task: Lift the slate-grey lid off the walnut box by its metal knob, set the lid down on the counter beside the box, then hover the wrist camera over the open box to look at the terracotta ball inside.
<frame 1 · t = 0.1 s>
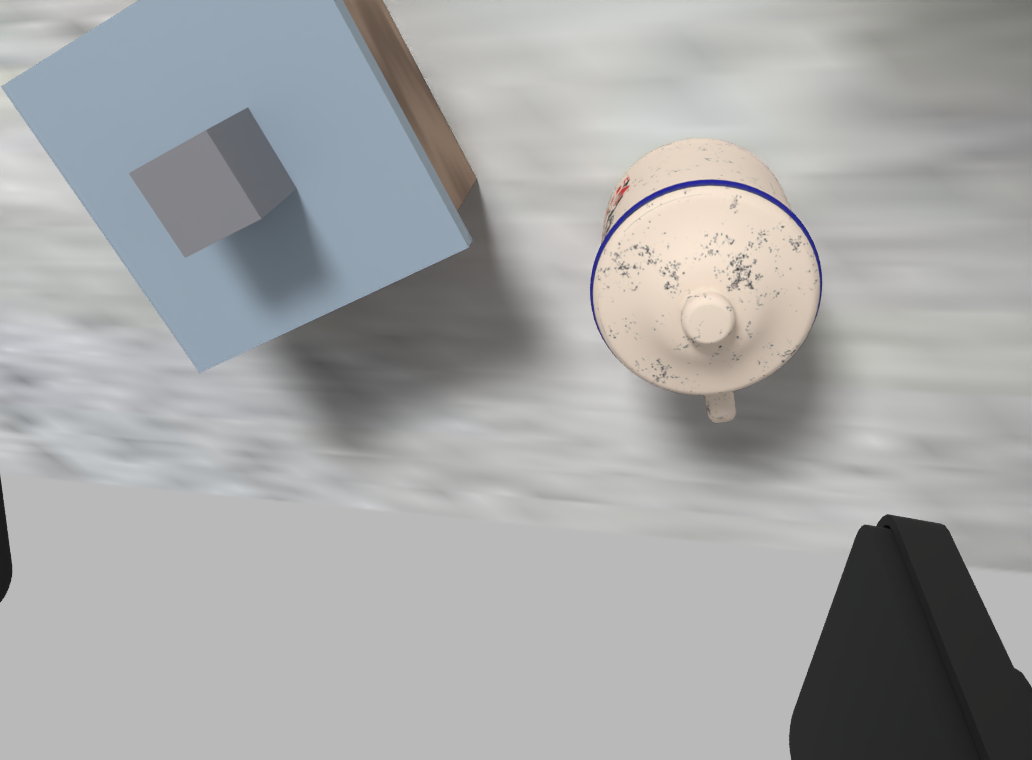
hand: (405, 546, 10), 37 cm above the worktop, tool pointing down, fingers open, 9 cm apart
teacup with lid: (698, 254, 47), on the worktop
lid: (246, 161, 39), point 8 cm above the worktop, touching box
box: (307, 120, 46), on the worktop
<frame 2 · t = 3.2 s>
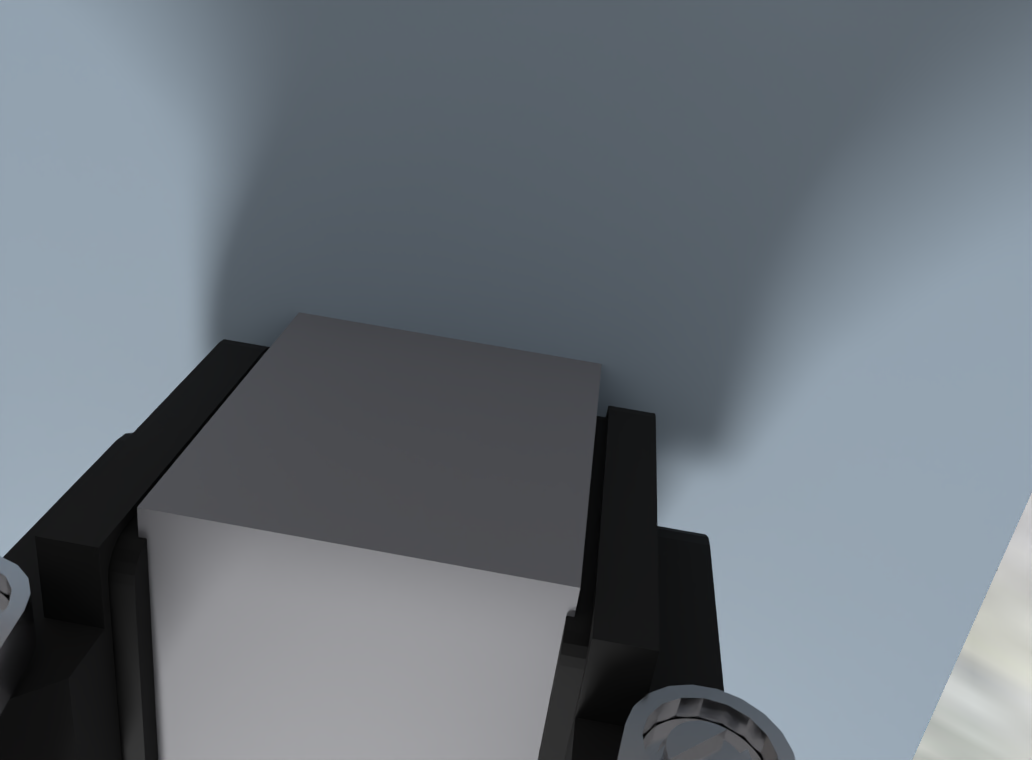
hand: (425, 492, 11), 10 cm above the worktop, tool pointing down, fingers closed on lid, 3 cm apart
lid: (449, 427, 13), point 8 cm above the worktop, touching box, gripper
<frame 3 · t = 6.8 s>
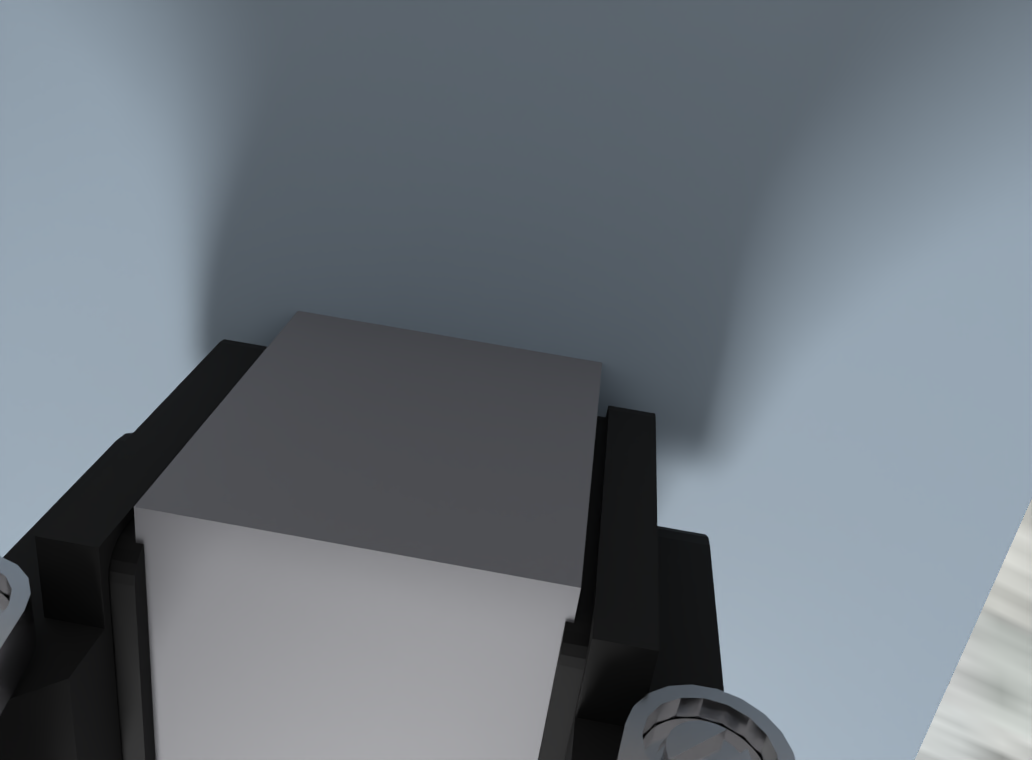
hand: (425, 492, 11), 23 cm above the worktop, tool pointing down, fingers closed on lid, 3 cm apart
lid: (449, 426, 13), point 21 cm above the worktop, touching gripper
when the fingers open (3 cm above the worktop, at t = 10.7 s): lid drops 2 cm, on the worktop.
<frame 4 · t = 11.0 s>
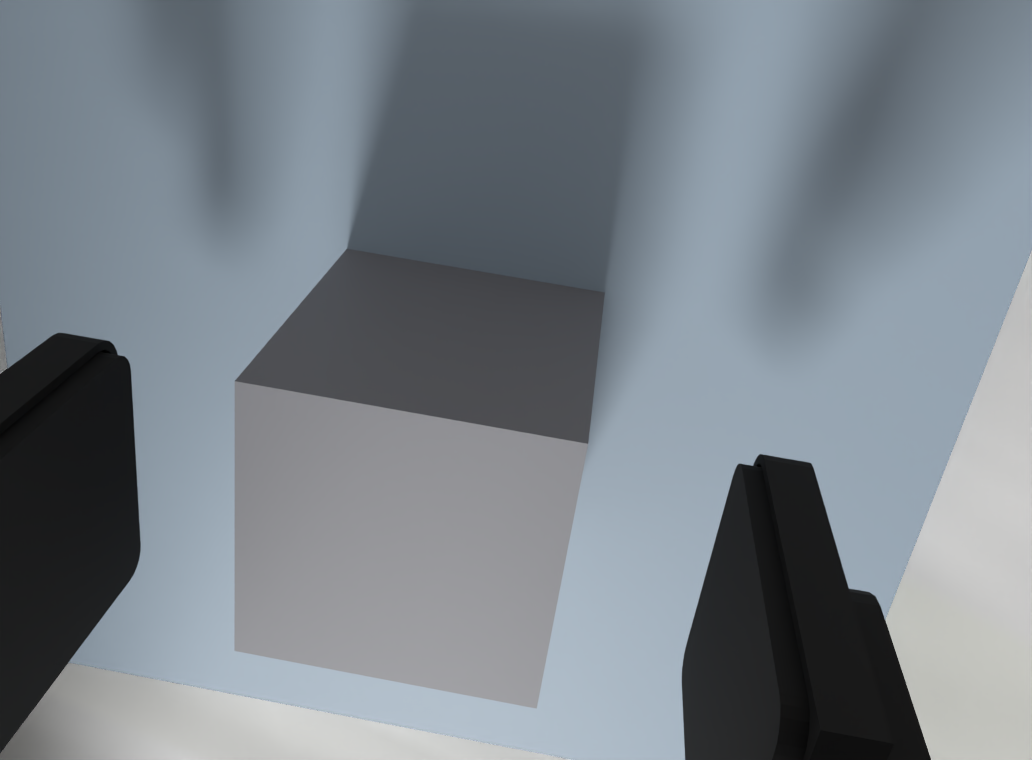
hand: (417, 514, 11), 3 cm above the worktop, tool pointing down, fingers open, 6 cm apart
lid: (472, 355, 15), on the worktop
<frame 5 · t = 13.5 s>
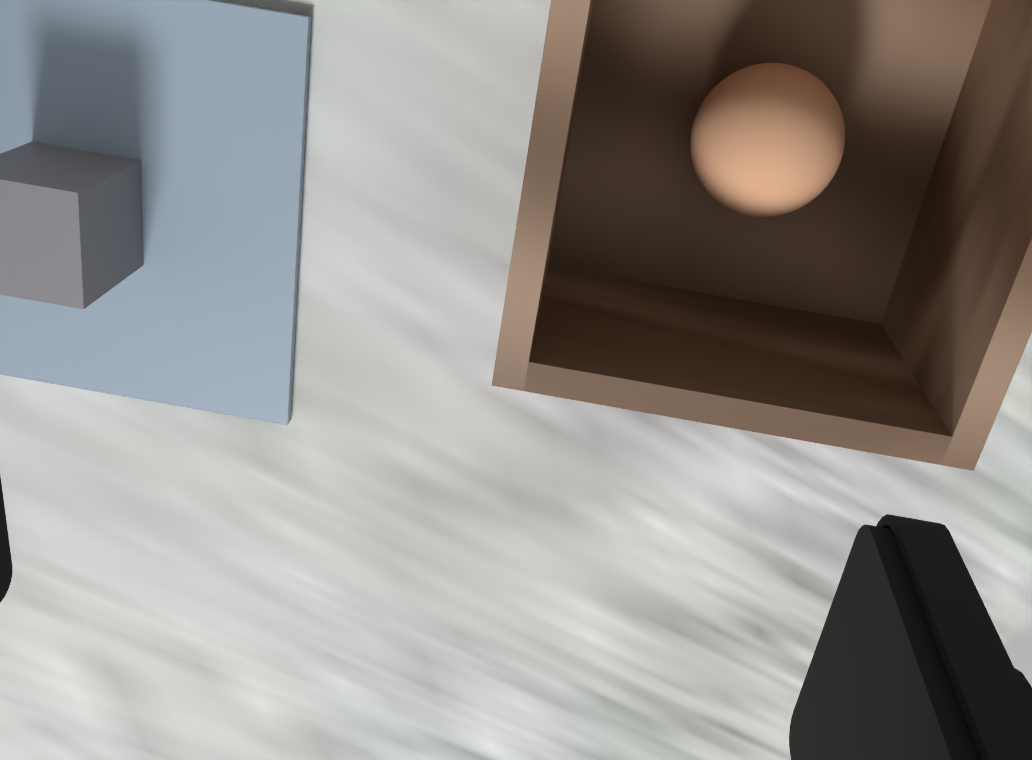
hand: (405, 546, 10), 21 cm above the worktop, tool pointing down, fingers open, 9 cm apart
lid: (103, 196, 32), on the worktop
box: (753, 121, 29), on the worktop
ball: (756, 126, 28), point 1 cm above the worktop, touching box
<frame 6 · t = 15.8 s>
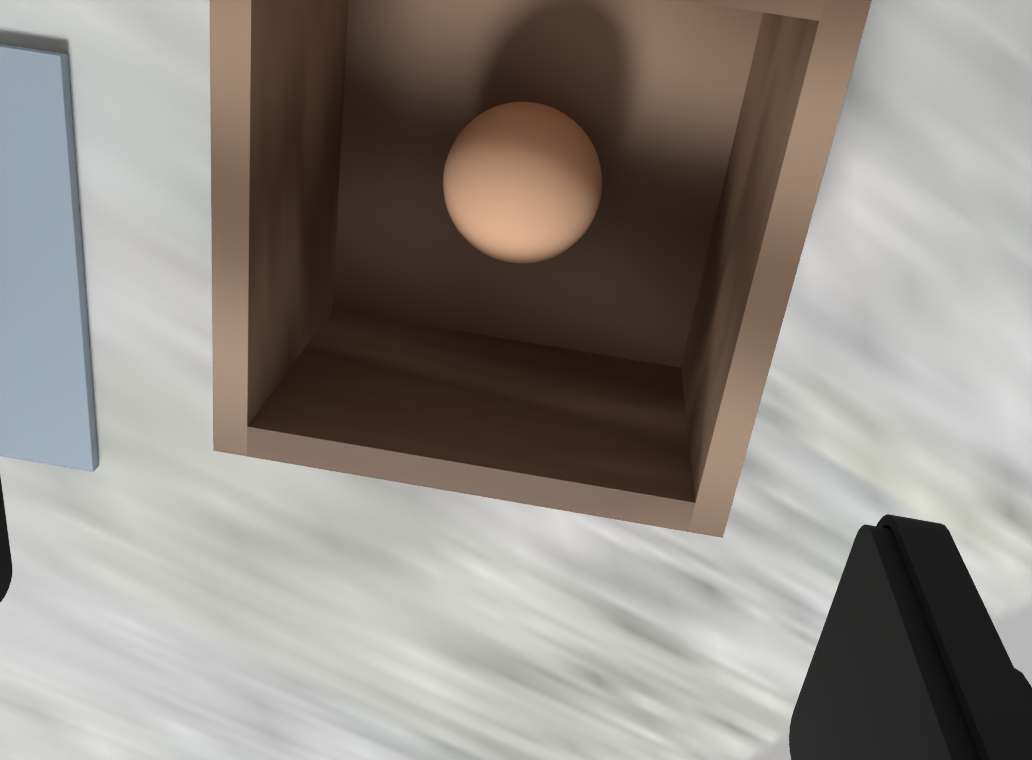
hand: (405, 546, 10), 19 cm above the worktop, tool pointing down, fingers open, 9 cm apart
box: (532, 158, 27), on the worktop
ball: (529, 165, 26), point 1 cm above the worktop, touching box
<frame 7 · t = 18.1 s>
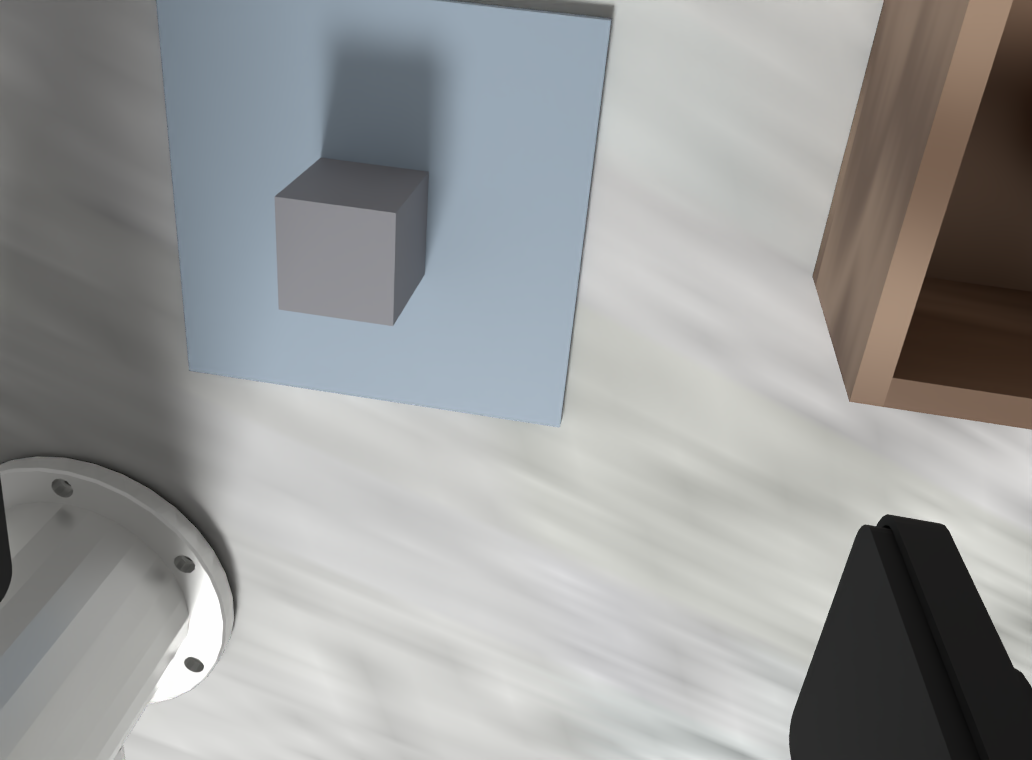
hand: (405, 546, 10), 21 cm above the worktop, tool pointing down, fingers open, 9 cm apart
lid: (382, 207, 32), on the worktop
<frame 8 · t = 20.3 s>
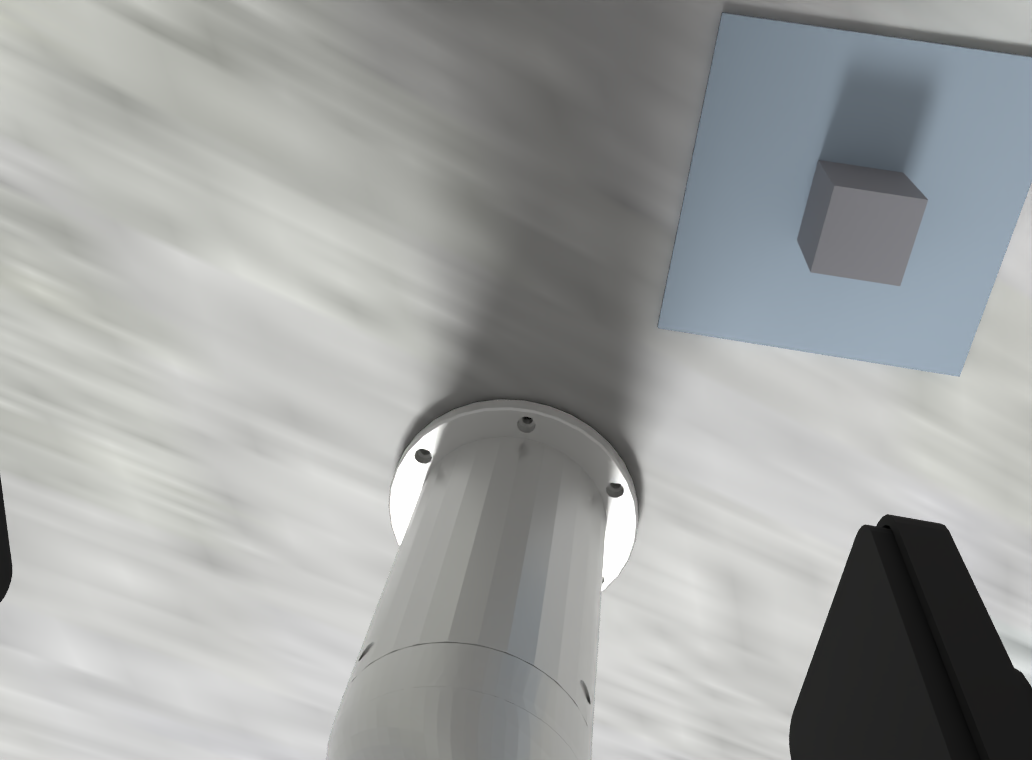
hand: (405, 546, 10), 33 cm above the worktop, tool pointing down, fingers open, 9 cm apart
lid: (844, 200, 42), on the worktop
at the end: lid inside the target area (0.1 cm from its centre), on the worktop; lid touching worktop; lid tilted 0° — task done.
